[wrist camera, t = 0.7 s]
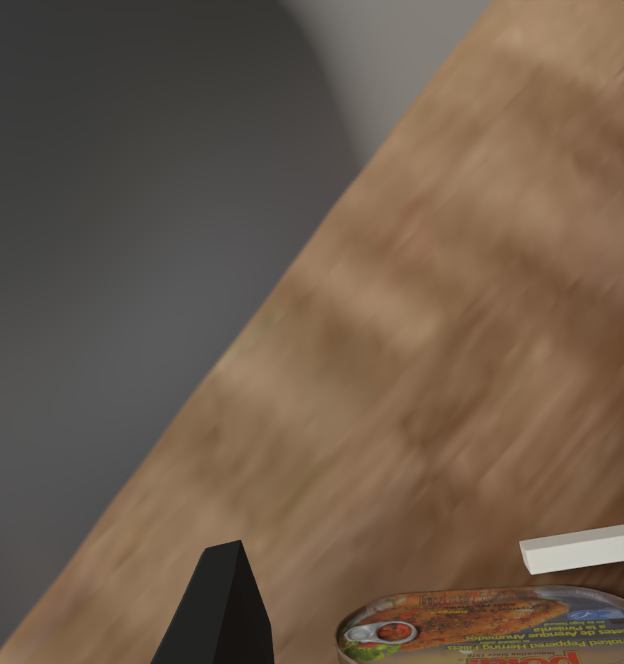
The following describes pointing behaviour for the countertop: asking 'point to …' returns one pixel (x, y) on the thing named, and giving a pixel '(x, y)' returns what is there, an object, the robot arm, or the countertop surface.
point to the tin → (486, 627)
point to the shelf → (574, 549)
